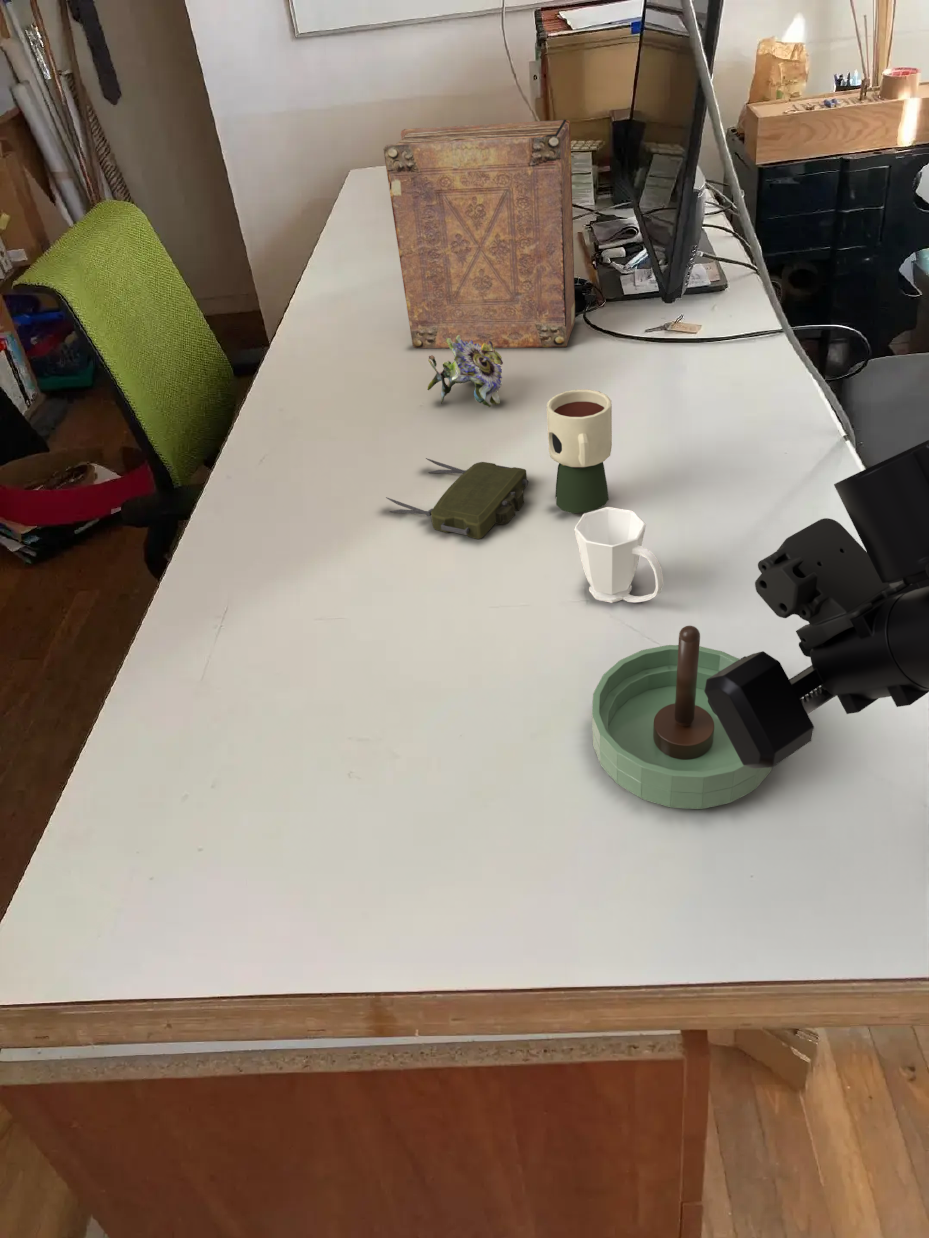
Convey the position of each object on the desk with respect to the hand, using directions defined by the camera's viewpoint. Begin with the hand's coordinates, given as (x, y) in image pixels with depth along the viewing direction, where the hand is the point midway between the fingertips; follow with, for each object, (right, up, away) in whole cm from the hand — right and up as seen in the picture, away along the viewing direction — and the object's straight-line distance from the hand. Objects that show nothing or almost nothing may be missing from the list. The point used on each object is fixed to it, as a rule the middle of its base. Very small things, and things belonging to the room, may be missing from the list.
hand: (758, 676), depth 67 cm
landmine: (-22, +18, +46) cm, 54 cm away
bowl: (-2, -7, +13) cm, 15 cm away
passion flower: (-21, +35, +66) cm, 78 cm away
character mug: (-7, +18, +43) cm, 47 cm away
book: (-16, +50, +83) cm, 98 cm away
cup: (-5, +6, +29) cm, 30 cm away
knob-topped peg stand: (-2, -6, +12) cm, 14 cm away
